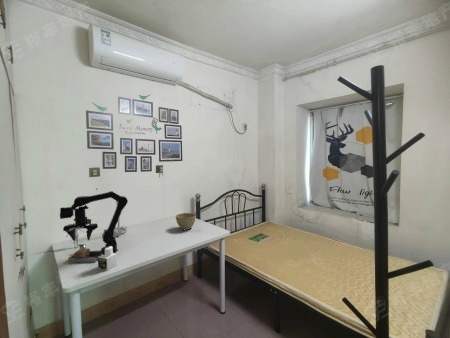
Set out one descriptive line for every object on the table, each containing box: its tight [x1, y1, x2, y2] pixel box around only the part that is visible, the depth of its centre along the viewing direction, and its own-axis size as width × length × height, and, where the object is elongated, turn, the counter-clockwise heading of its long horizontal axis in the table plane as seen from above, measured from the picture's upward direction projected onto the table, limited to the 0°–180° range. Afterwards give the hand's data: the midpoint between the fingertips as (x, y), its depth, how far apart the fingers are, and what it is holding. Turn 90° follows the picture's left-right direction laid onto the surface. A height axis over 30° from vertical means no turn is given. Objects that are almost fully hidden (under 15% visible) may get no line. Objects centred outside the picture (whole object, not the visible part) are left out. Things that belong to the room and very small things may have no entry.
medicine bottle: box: [97, 245, 118, 271], centre depth 130 cm, size 7×7×12 cm
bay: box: [67, 244, 101, 264], centre depth 145 cm, size 20×17×6 cm
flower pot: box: [175, 212, 197, 230], centre depth 200 cm, size 18×18×12 cm
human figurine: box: [65, 222, 86, 249], centre depth 161 cm, size 12×4×18 cm, turn 145°
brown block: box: [73, 248, 91, 258], centre depth 142 cm, size 6×6×5 cm
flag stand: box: [113, 200, 128, 237], centre depth 186 cm, size 13×13×30 cm
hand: (81, 240), depth 142 cm, fingers open, 9 cm apart
